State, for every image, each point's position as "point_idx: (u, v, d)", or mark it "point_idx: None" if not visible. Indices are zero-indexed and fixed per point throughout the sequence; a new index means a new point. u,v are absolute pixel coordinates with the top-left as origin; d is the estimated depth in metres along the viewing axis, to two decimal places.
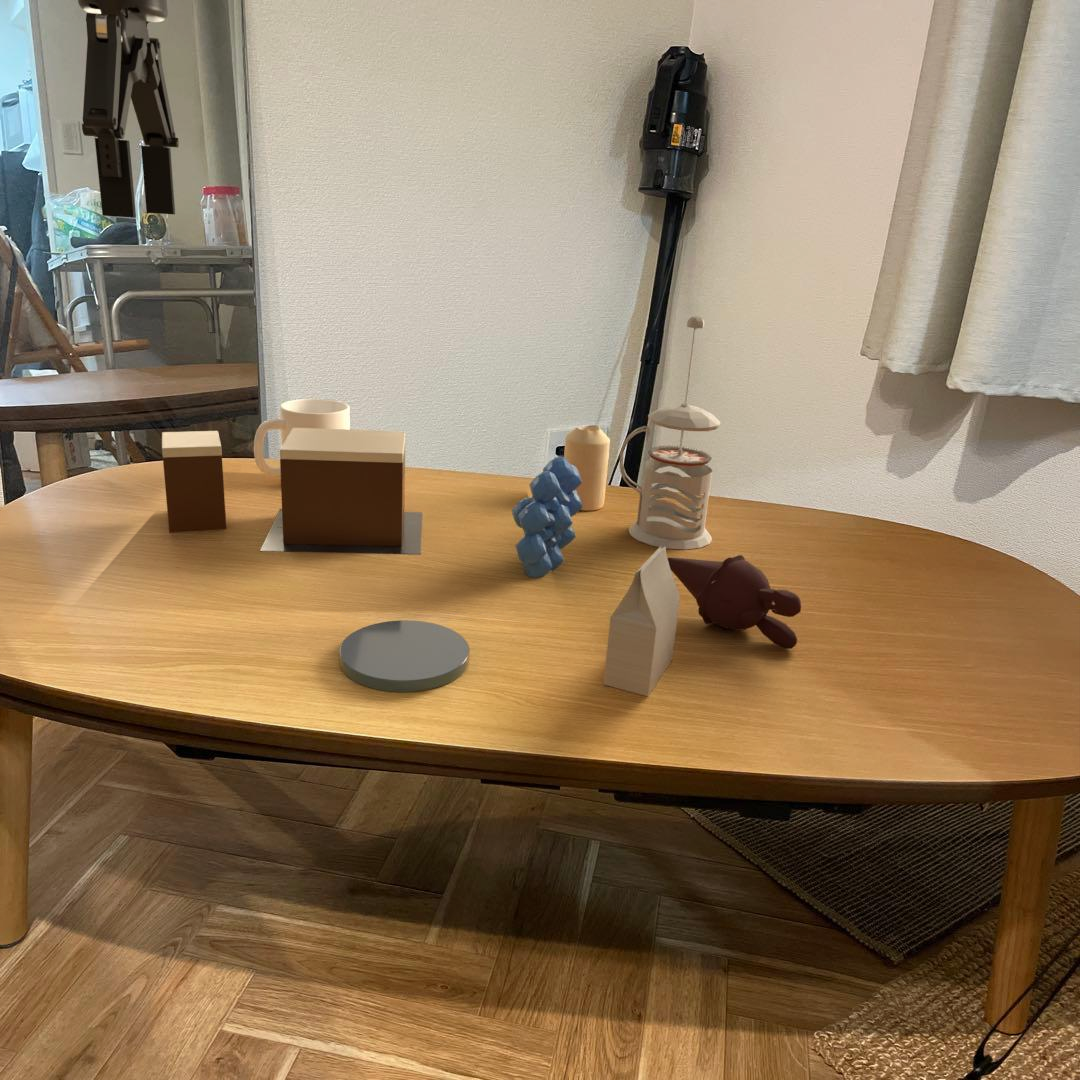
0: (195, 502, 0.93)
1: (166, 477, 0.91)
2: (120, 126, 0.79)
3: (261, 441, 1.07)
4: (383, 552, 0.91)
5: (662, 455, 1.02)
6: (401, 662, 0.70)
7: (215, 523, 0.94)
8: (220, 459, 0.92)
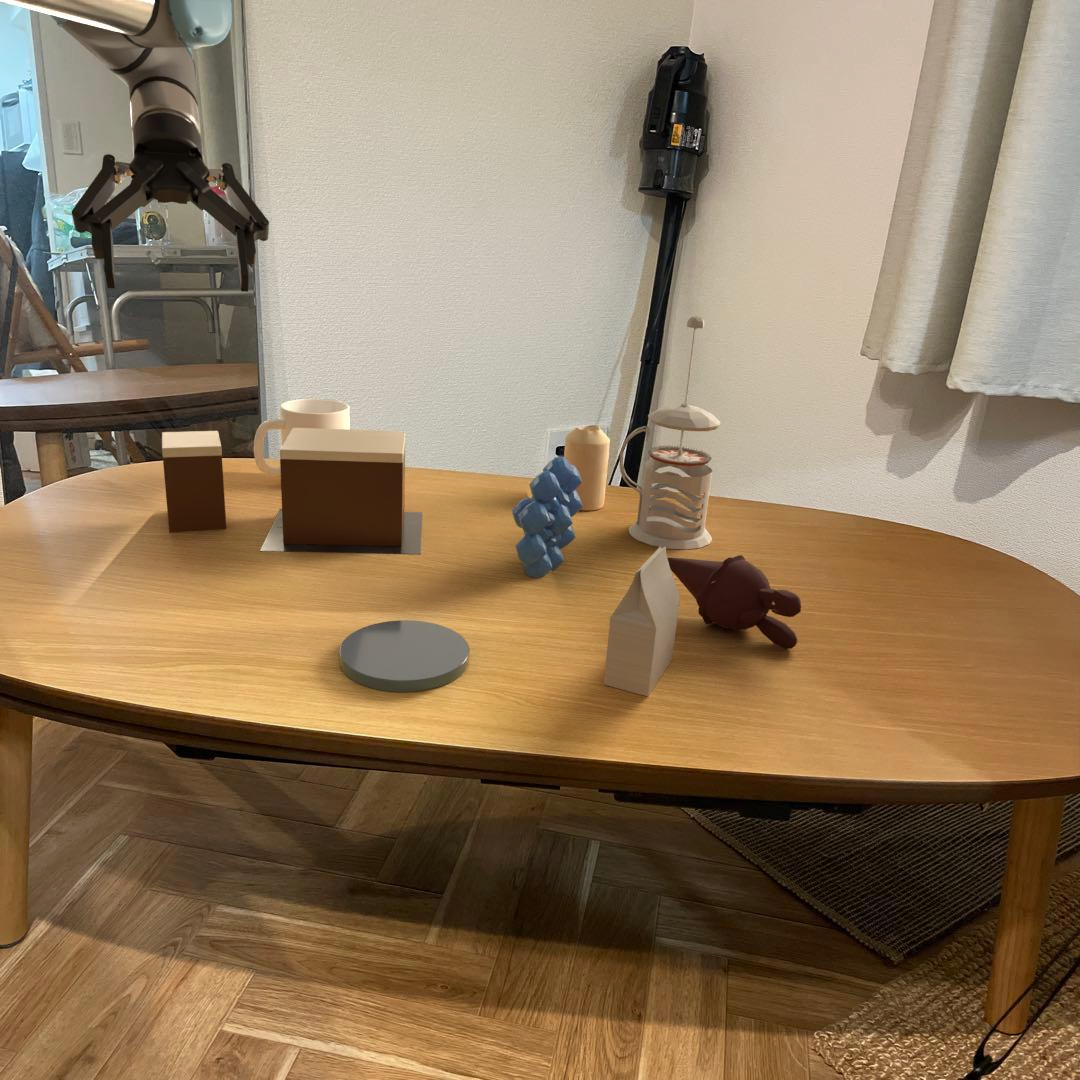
0: (195, 502, 0.93)
1: (166, 477, 0.91)
2: None
3: (261, 441, 1.07)
4: (383, 552, 0.91)
5: (662, 455, 1.02)
6: (401, 662, 0.70)
7: (215, 523, 0.94)
8: (220, 459, 0.92)
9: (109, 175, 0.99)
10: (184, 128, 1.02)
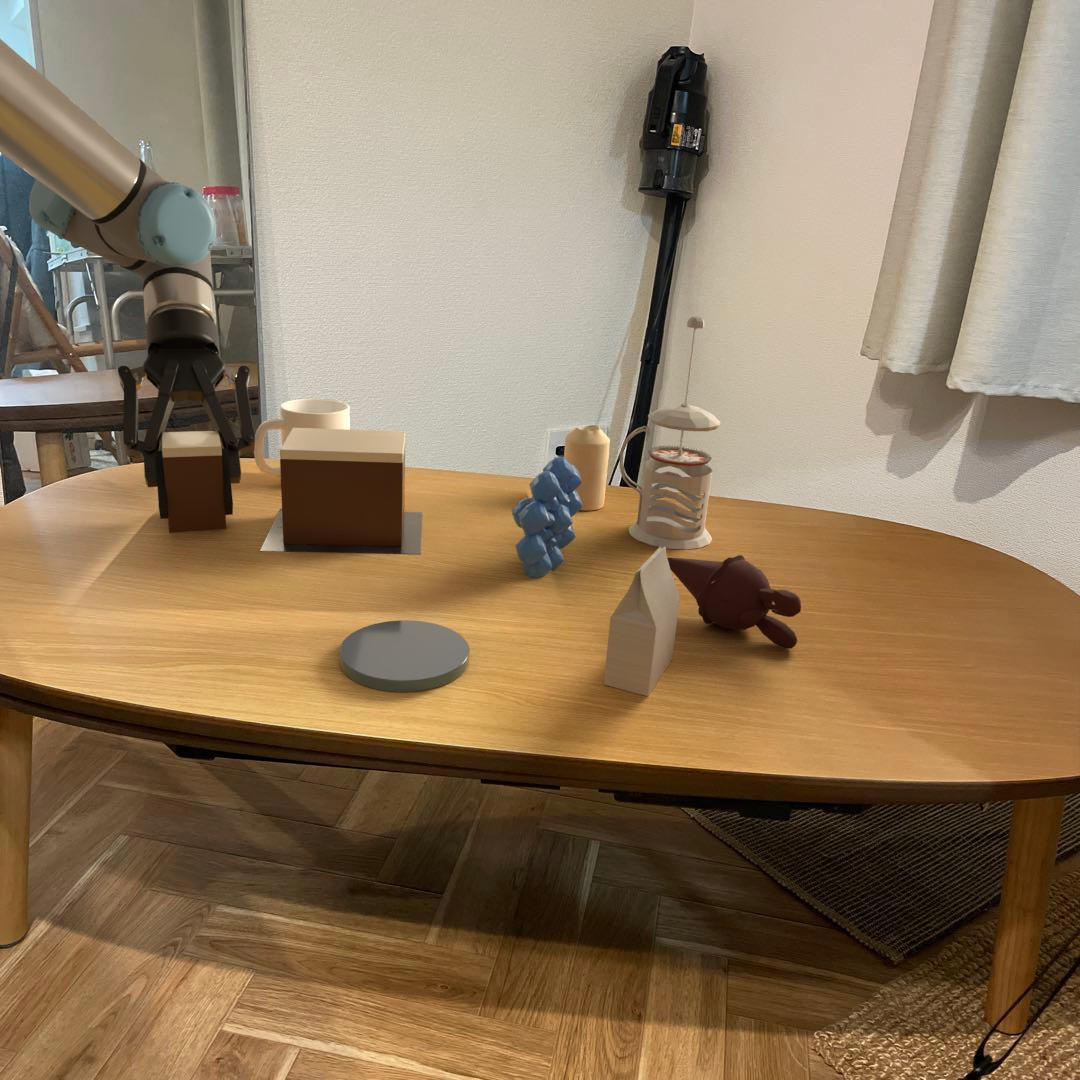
0: (195, 502, 0.93)
1: (166, 477, 0.91)
2: None
3: (261, 441, 1.07)
4: (383, 552, 0.91)
5: (662, 455, 1.02)
6: (401, 662, 0.70)
7: (215, 523, 0.94)
8: (220, 459, 0.92)
9: (135, 388, 0.95)
10: (200, 324, 0.98)
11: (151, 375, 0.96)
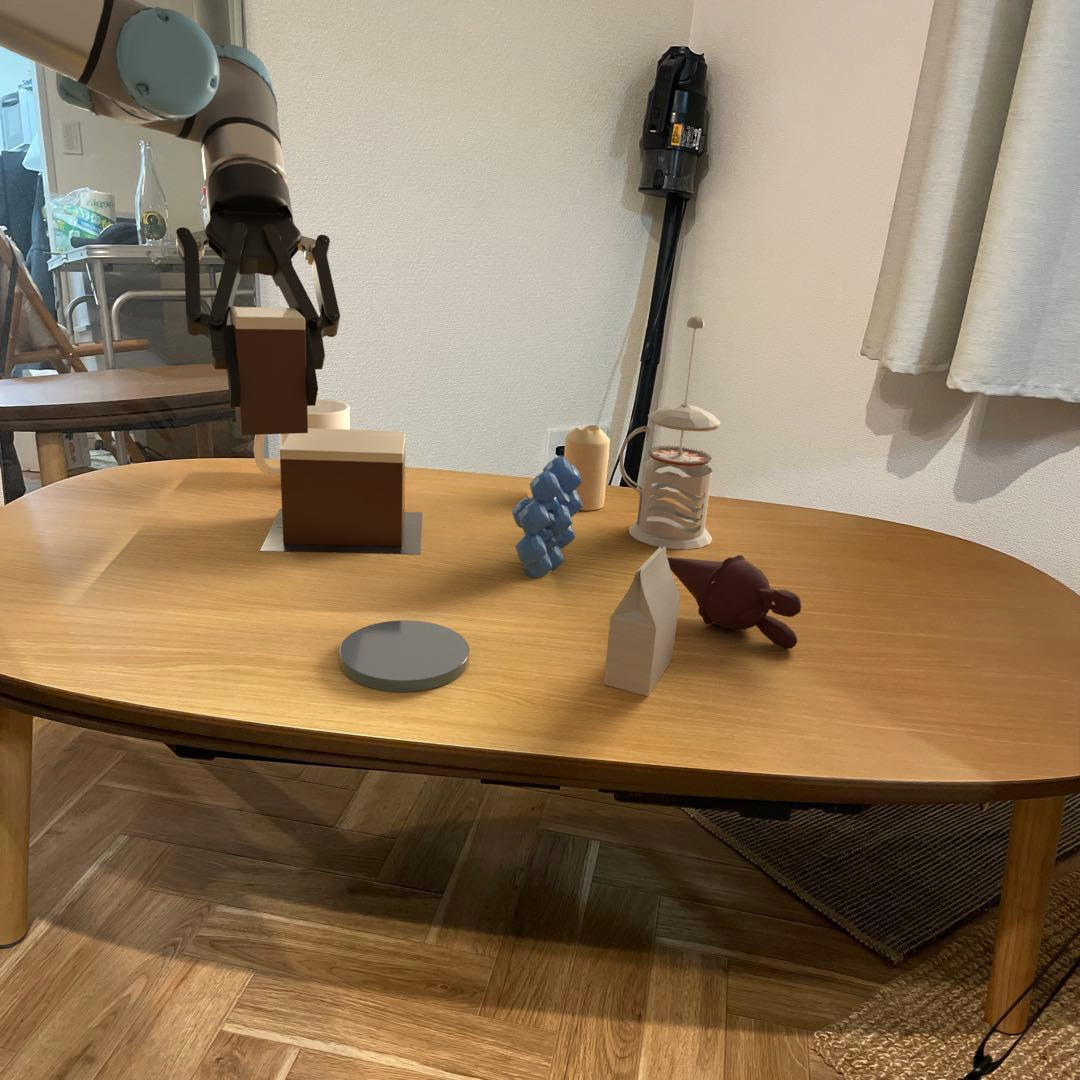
0: (272, 387, 0.77)
1: (239, 354, 0.75)
2: None
3: (261, 441, 1.07)
4: (383, 552, 0.91)
5: (662, 455, 1.02)
6: (401, 662, 0.70)
7: (295, 415, 0.78)
8: (303, 334, 0.76)
9: (197, 253, 0.79)
10: (272, 182, 0.82)
11: (215, 240, 0.80)
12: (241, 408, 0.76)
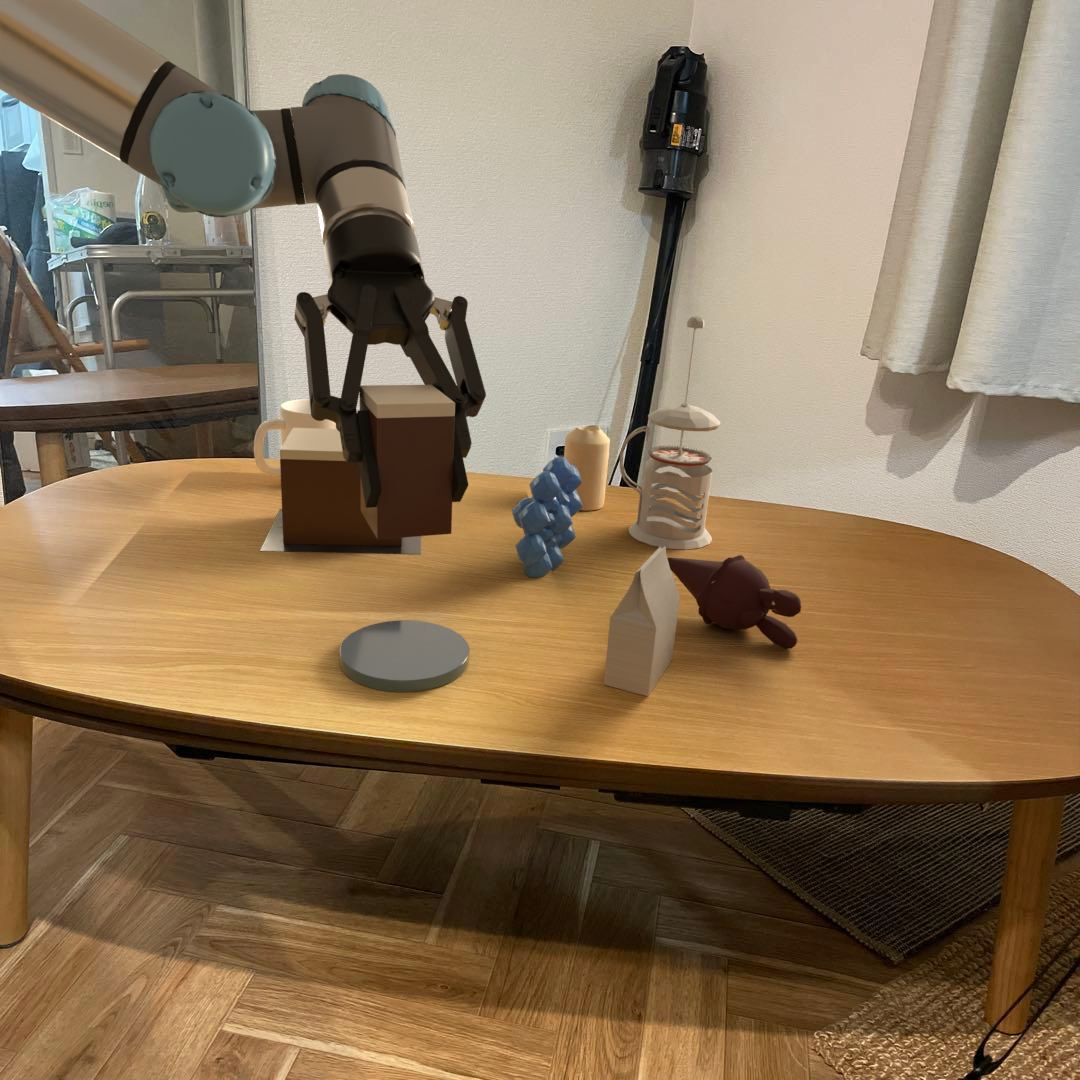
0: (414, 483, 0.65)
1: (379, 447, 0.63)
2: None
3: (261, 441, 1.07)
4: (383, 552, 0.91)
5: (662, 455, 1.02)
6: (401, 662, 0.70)
7: (438, 514, 0.66)
8: (452, 422, 0.64)
9: (321, 323, 0.67)
10: (404, 236, 0.70)
11: (340, 306, 0.69)
12: (378, 509, 0.64)
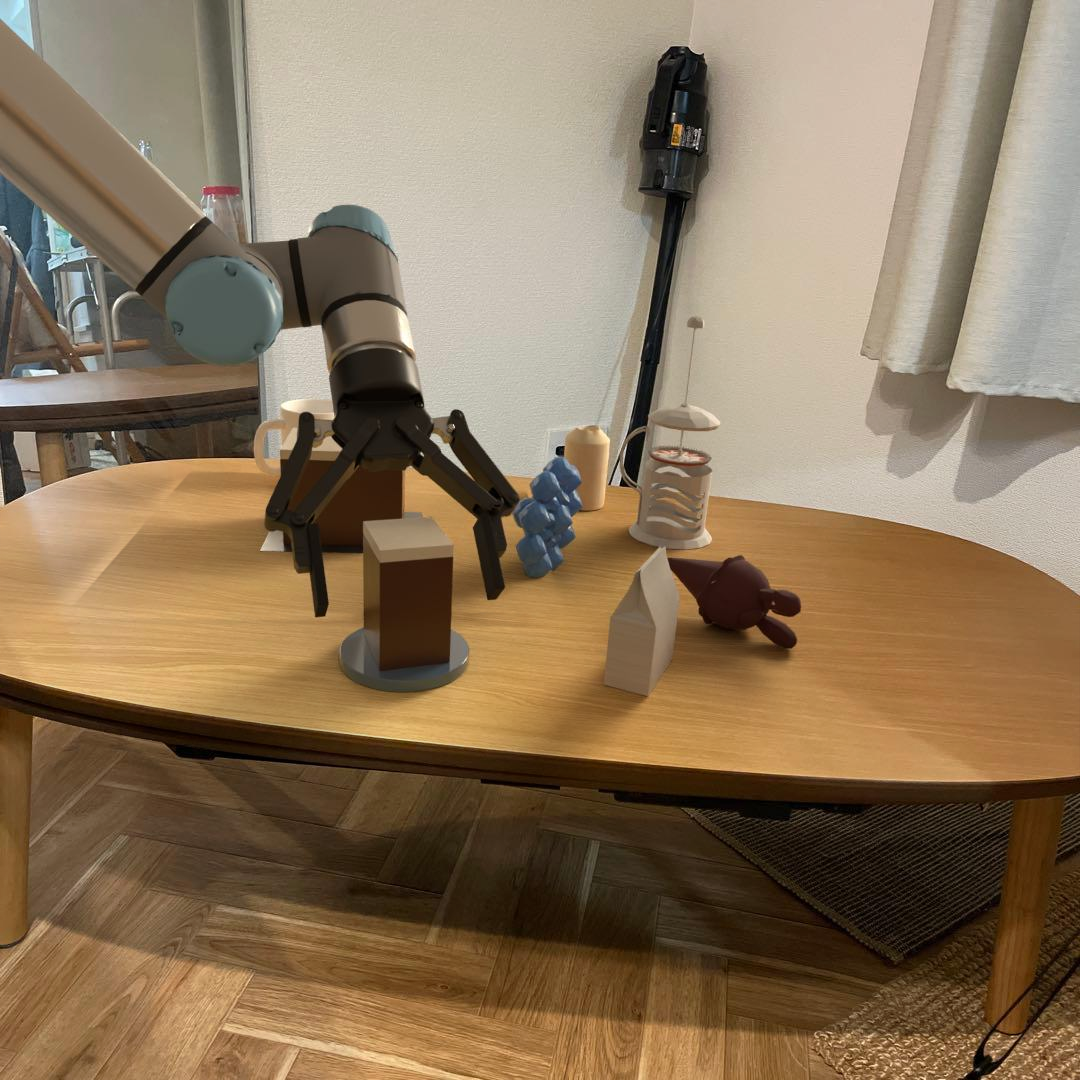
0: (415, 619, 0.68)
1: (382, 588, 0.66)
2: None
3: (261, 441, 1.07)
4: None
5: (662, 455, 1.02)
6: None
7: (438, 645, 0.70)
8: (451, 562, 0.68)
9: (310, 445, 0.70)
10: (405, 368, 0.74)
11: (344, 438, 0.72)
12: (380, 644, 0.68)
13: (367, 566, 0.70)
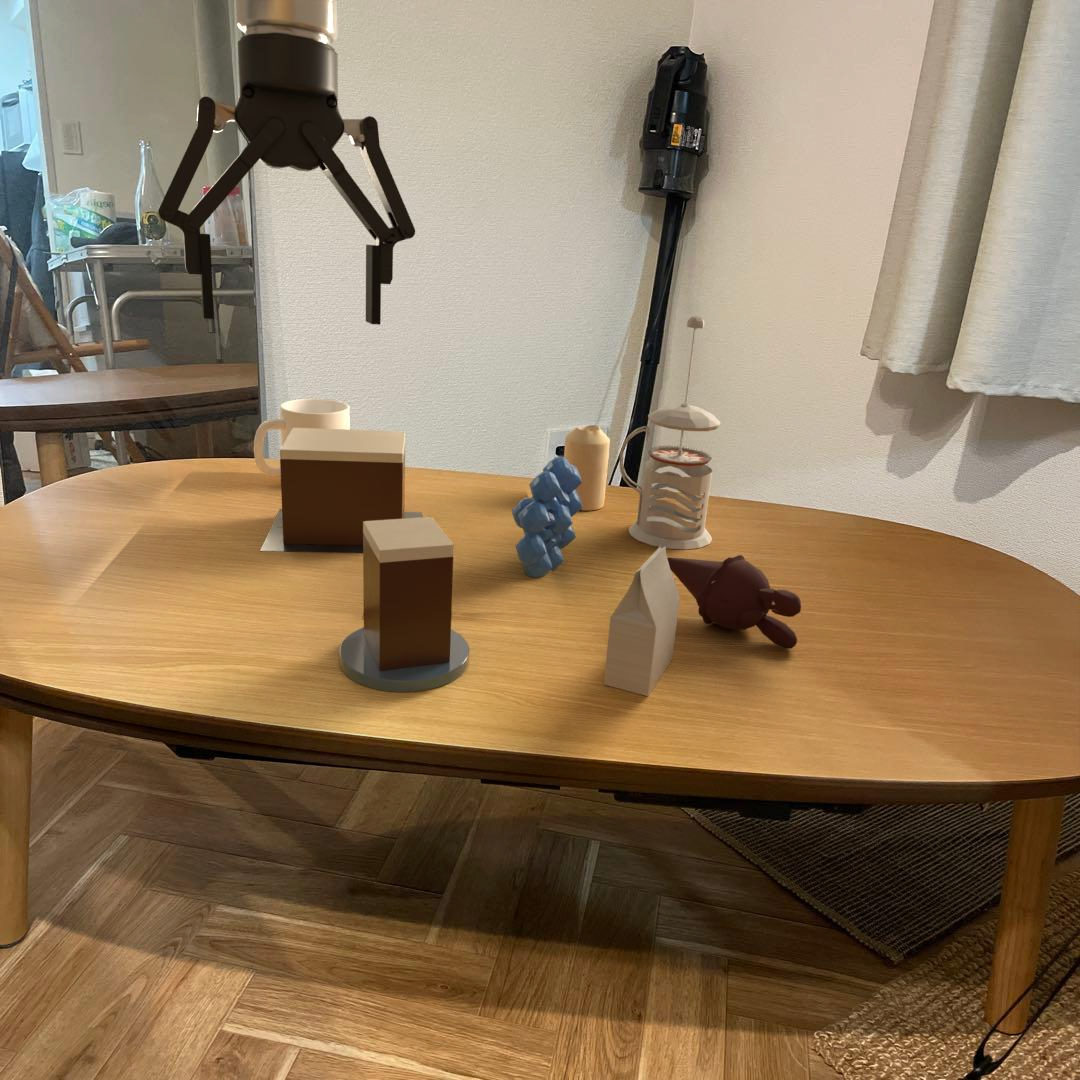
0: (415, 619, 0.68)
1: (382, 588, 0.66)
2: None
3: (261, 441, 1.07)
4: None
5: (662, 455, 1.02)
6: None
7: (438, 645, 0.70)
8: (451, 562, 0.68)
9: (208, 140, 0.69)
10: (319, 68, 0.68)
11: (245, 134, 0.70)
12: (380, 644, 0.68)
13: (367, 566, 0.70)
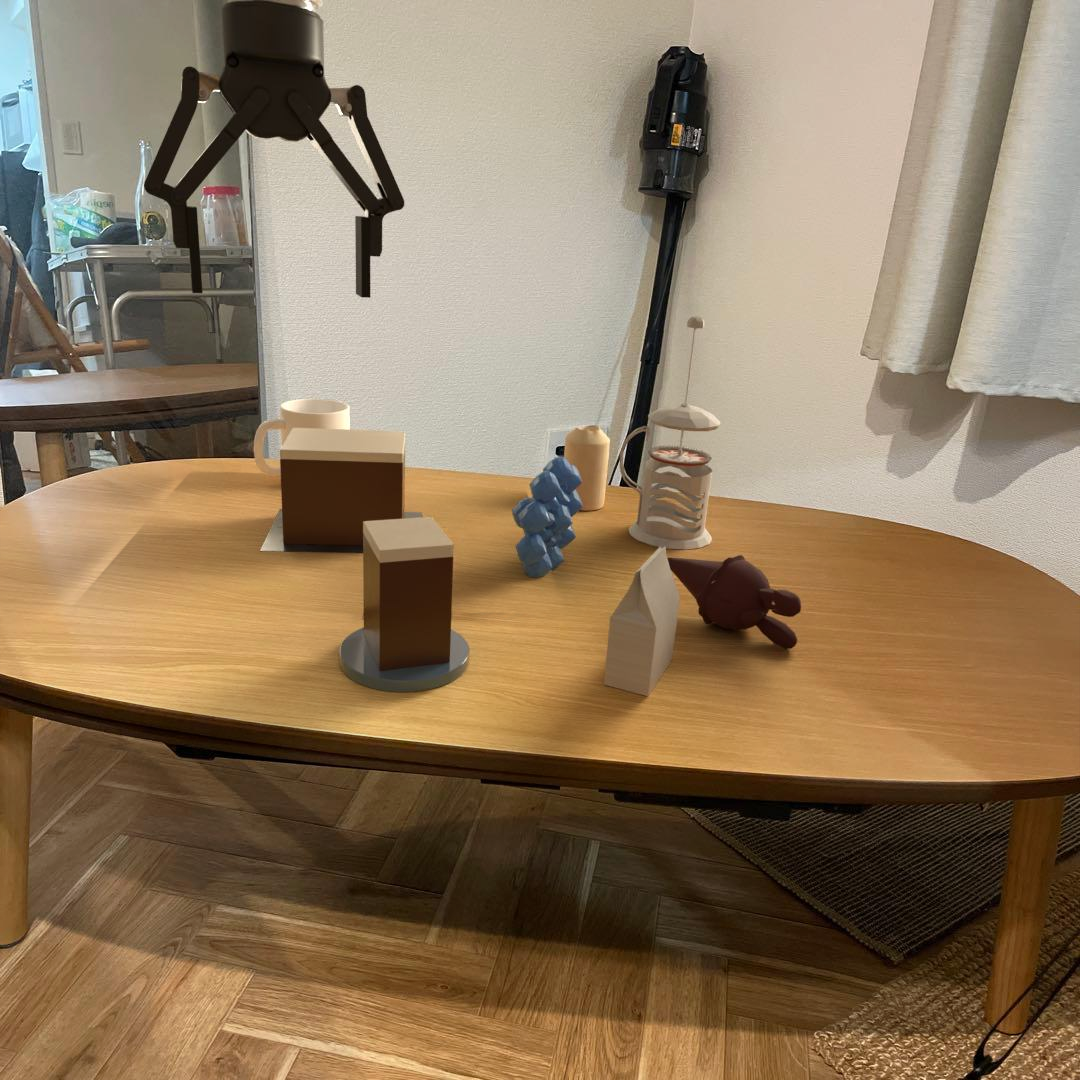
0: (415, 619, 0.68)
1: (382, 588, 0.66)
2: None
3: (261, 441, 1.07)
4: None
5: (662, 455, 1.02)
6: None
7: (438, 645, 0.70)
8: (451, 562, 0.68)
9: (193, 111, 0.68)
10: (304, 36, 0.67)
11: (231, 104, 0.69)
12: (380, 644, 0.68)
13: (367, 566, 0.70)
